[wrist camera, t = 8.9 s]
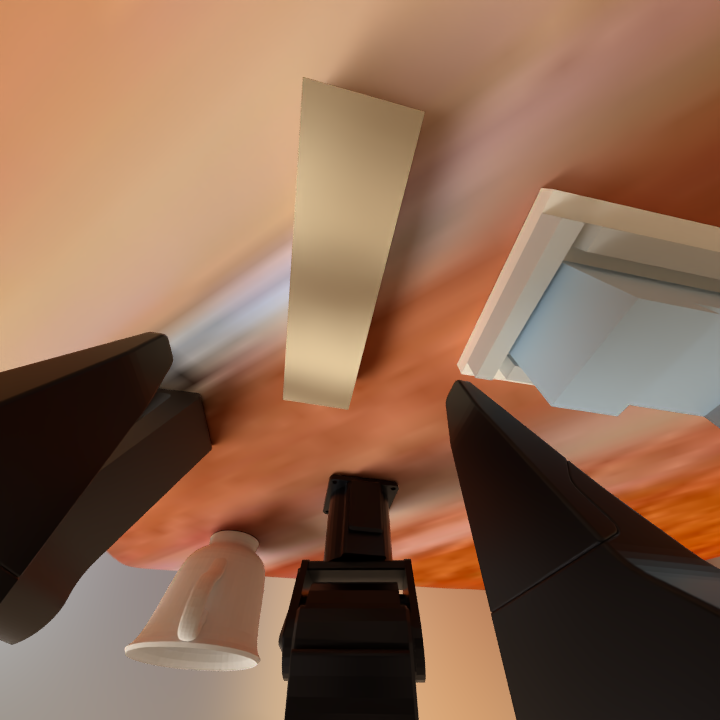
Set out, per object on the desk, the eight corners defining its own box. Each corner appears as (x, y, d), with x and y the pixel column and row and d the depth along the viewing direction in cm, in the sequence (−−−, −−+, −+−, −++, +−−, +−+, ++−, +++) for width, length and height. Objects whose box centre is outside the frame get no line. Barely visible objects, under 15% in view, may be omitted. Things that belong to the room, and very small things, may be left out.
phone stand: (100, 432, 22) (-107, 638, 13) (68, 376, 19) (-250, 598, 9) (213, 445, 23) (102, 649, 13) (202, 393, 20) (42, 615, 10)
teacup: (291, 512, 29) (262, 644, 21) (281, 564, 38) (258, 673, 29) (173, 496, 28) (93, 632, 20) (189, 554, 36) (138, 667, 28)
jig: (816, 251, 14) (897, 265, 12) (658, 396, 19) (693, 423, 17) (540, 188, 12) (576, 191, 10) (457, 364, 18) (469, 389, 16)
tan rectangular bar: (350, 379, 19) (348, 409, 17) (293, 369, 19) (282, 399, 16) (411, 124, 11) (424, 111, 9) (316, 97, 11) (302, 76, 8)
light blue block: (502, 345, 16) (551, 406, 12) (552, 258, 13) (638, 298, 9) (682, 376, 17) (784, 441, 13) (764, 301, 14) (927, 355, 10)
